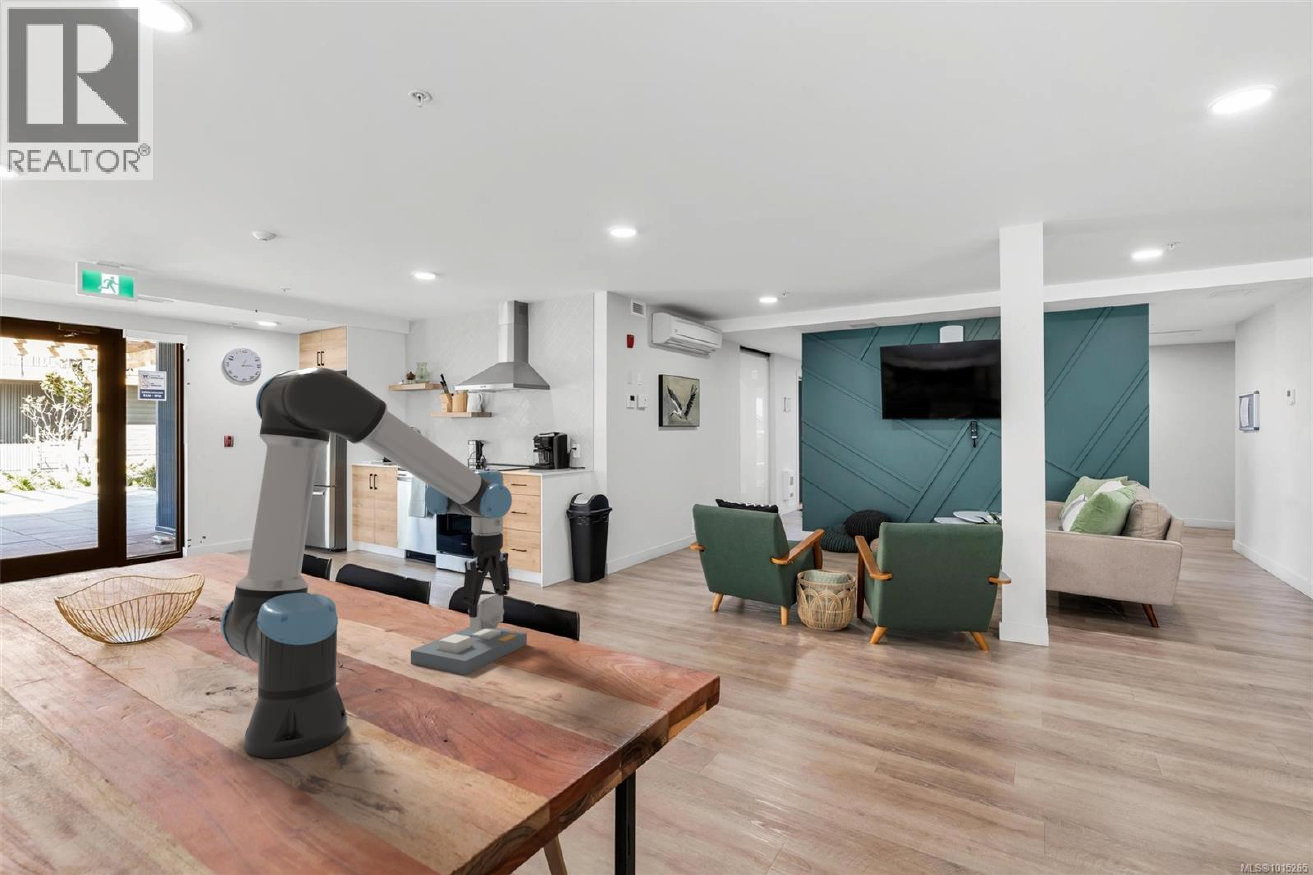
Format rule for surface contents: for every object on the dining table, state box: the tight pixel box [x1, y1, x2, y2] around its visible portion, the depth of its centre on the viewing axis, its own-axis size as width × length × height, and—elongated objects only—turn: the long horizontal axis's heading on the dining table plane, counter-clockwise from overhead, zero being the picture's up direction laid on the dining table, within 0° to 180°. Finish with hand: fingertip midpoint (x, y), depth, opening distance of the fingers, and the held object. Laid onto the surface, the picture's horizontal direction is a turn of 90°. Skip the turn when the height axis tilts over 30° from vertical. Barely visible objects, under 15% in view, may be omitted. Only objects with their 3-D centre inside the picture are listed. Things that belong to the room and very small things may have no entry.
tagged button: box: [472, 629, 501, 640], centre depth 152 cm, size 5×5×3 cm
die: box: [467, 593, 505, 629], centre depth 152 cm, size 8×9×10 cm
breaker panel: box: [410, 626, 528, 676], centre depth 147 cm, size 22×16×3 cm
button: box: [439, 633, 471, 654], centre depth 142 cm, size 5×5×3 cm
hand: (486, 625), depth 152 cm, fingers closed on die, 7 cm apart
